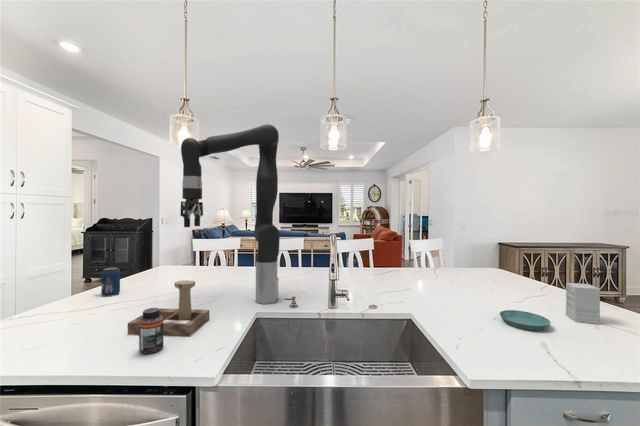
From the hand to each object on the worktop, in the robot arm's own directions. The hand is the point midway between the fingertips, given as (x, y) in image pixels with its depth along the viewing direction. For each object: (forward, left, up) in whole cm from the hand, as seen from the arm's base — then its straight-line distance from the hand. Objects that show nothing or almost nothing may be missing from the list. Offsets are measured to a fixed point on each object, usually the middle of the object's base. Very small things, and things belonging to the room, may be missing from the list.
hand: (192, 226), depth 123 cm
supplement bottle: (-9, +40, -32) cm, 52 cm away
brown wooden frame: (-5, +24, -32) cm, 40 cm away
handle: (-10, +24, -32) cm, 41 cm away
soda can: (+43, -9, -32) cm, 55 cm away
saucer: (-126, +12, -33) cm, 131 cm away
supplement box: (-150, +6, -32) cm, 154 cm away
